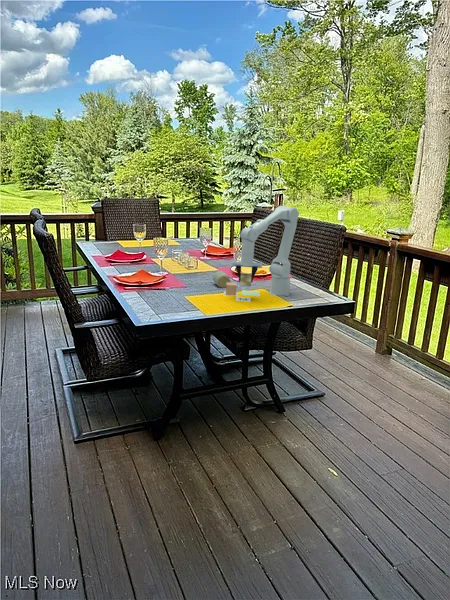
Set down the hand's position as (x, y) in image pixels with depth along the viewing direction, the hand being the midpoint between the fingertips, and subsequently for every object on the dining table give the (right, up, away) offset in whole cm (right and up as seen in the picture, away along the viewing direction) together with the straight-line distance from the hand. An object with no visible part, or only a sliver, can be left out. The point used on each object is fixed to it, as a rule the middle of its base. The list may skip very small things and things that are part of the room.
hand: (245, 281), depth 208 cm
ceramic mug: (-11, -2, +23) cm, 25 cm away
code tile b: (-7, -6, +9) cm, 13 cm away
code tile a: (-1, -9, +2) cm, 9 cm away
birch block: (0, -1, 0) cm, 1 cm away
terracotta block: (-7, -6, +9) cm, 13 cm away
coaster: (+3, -6, +12) cm, 14 cm away
